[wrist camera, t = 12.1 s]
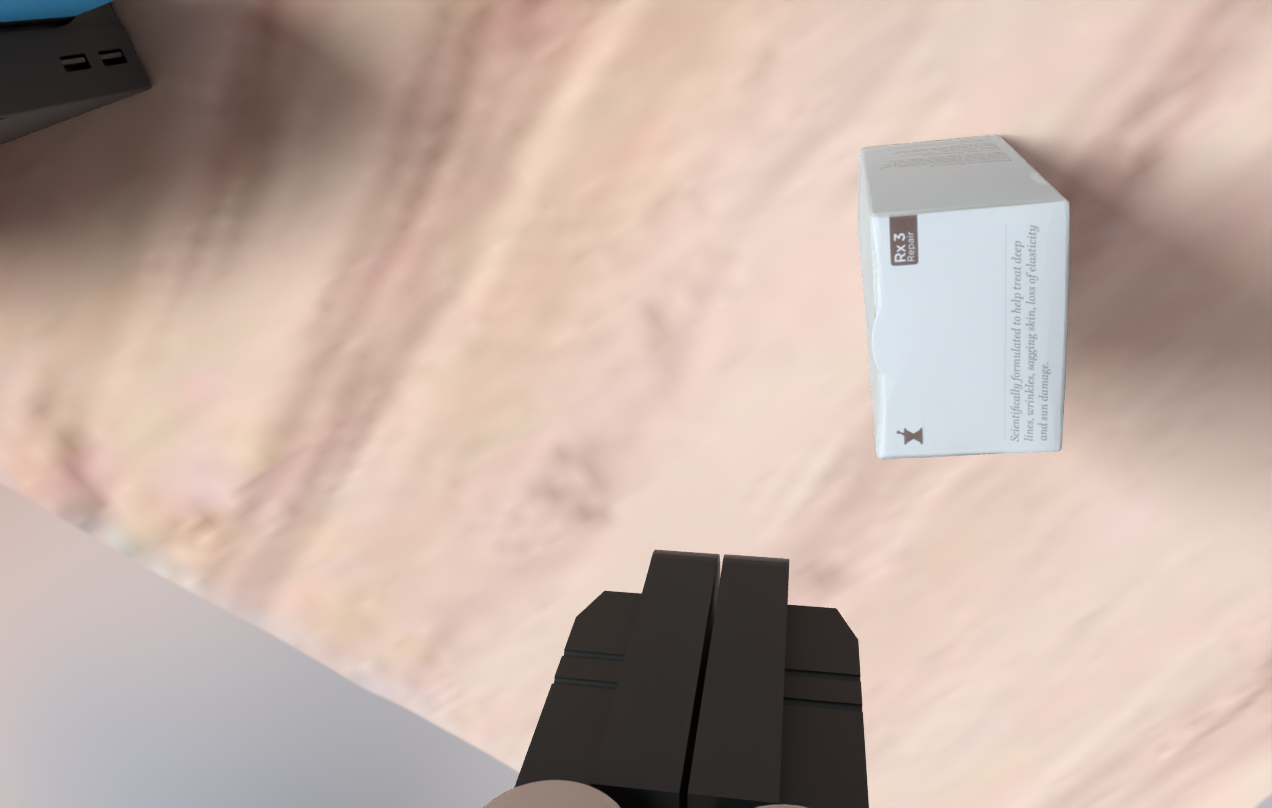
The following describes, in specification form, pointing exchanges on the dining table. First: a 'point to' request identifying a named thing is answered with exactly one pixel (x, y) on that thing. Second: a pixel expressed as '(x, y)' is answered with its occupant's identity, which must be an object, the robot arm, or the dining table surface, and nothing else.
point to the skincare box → (963, 298)
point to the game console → (61, 62)
